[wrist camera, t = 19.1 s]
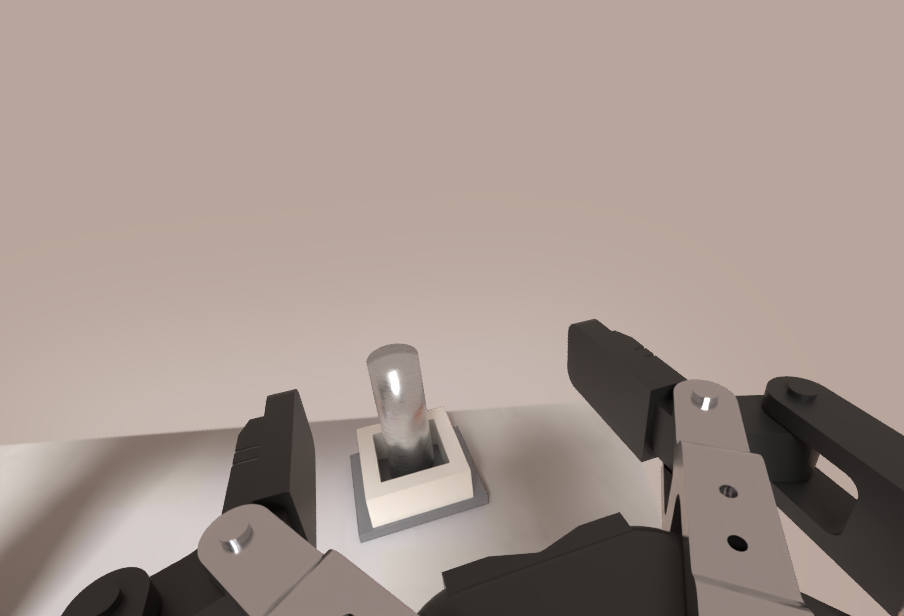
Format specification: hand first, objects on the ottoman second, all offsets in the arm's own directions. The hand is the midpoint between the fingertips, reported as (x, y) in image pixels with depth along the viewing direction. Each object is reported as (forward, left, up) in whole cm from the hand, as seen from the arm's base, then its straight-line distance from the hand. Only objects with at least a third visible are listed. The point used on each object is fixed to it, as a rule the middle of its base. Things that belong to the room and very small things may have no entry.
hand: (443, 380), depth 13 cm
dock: (0, +23, -28) cm, 36 cm away
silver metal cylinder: (0, +22, -27) cm, 35 cm away
